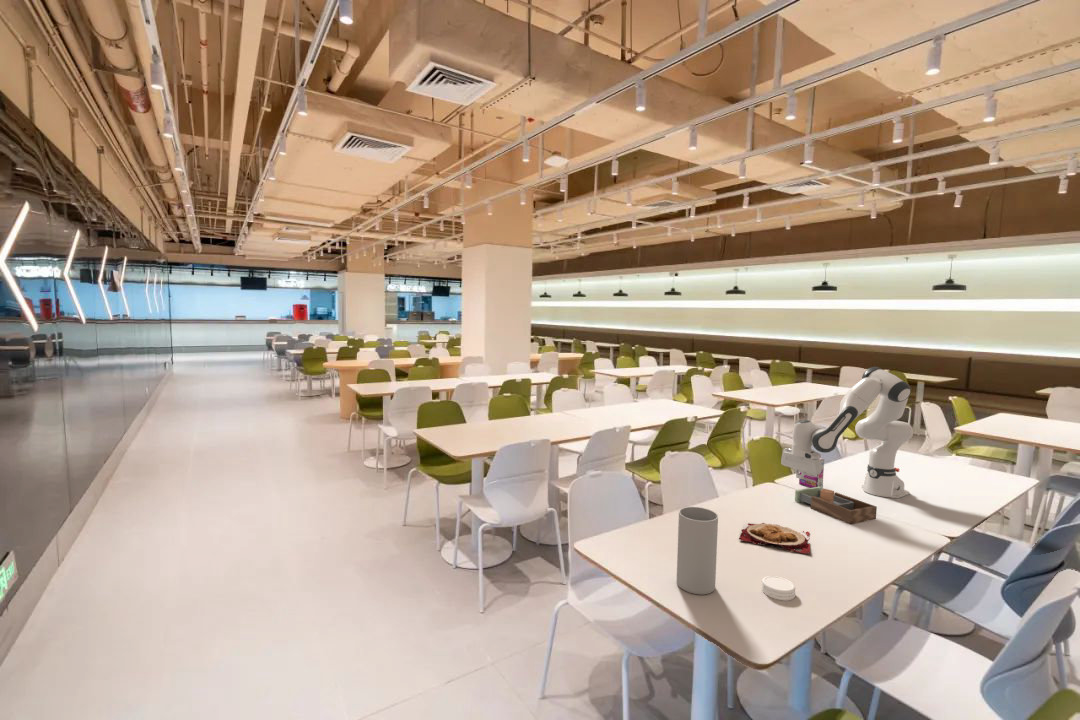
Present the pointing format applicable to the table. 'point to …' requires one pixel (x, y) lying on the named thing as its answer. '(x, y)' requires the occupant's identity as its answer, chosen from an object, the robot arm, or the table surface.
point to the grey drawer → (807, 494)
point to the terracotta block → (827, 495)
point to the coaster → (778, 588)
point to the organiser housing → (845, 510)
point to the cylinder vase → (697, 550)
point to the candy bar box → (813, 478)
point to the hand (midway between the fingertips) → (799, 478)
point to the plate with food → (776, 537)
